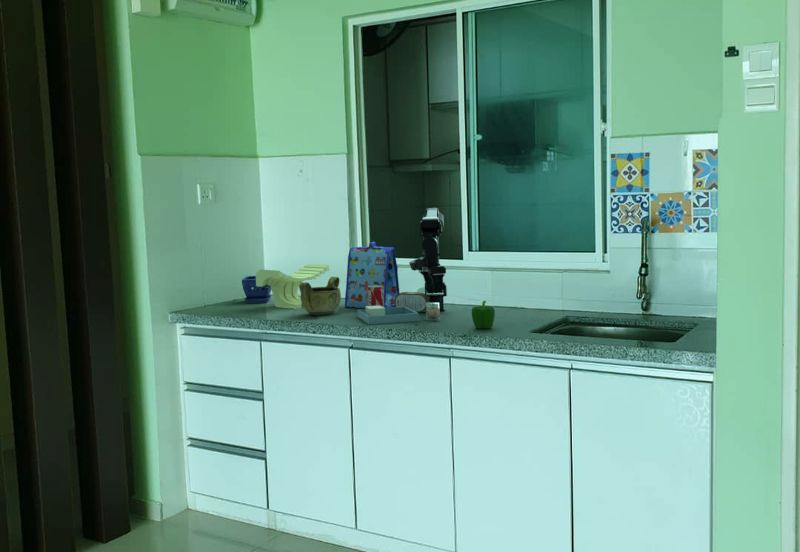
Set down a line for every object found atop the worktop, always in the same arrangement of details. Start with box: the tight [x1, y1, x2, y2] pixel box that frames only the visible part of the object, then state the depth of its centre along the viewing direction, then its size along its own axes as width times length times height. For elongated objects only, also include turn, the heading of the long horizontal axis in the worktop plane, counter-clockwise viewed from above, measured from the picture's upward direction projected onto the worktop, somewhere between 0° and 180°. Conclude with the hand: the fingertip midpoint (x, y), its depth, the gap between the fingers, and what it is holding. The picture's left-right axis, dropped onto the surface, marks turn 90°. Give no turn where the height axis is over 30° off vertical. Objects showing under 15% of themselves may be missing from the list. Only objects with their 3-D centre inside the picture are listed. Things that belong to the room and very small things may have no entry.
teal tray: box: [356, 306, 420, 325], centre depth 327 cm, size 20×20×4 cm
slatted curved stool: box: [255, 263, 330, 310], centre depth 375 cm, size 30×16×18 cm, turn 139°
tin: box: [395, 291, 429, 313], centre depth 347 cm, size 15×3×8 cm, turn 69°
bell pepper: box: [471, 300, 496, 330], centre depth 302 cm, size 8×8×10 cm
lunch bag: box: [344, 241, 401, 309], centre depth 364 cm, size 22×14×29 cm, turn 58°
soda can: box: [367, 285, 384, 307], centre depth 342 cm, size 7×7×12 cm
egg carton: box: [364, 305, 385, 316], centre depth 326 cm, size 6×8×5 cm
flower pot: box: [241, 275, 272, 304], centre depth 393 cm, size 13×13×12 cm
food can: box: [425, 302, 441, 323], centre depth 322 cm, size 5×5×7 cm
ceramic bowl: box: [298, 276, 342, 317], centre depth 346 cm, size 22×17×15 cm
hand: (431, 290), depth 322 cm, fingers open, 9 cm apart
